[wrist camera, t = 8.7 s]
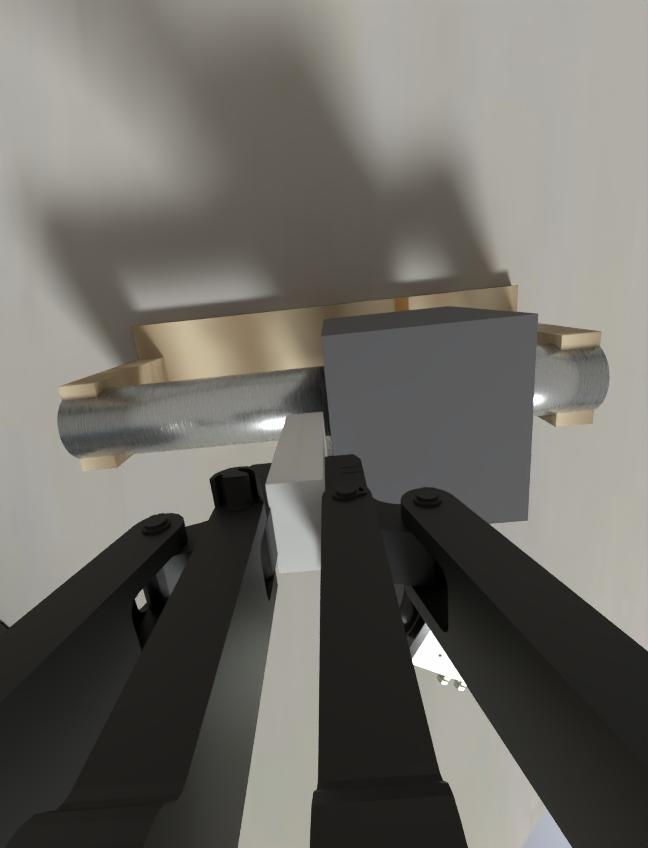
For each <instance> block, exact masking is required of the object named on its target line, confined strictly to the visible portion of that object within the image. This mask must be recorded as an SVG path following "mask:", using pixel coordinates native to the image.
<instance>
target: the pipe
mask: <svg viewBox="0 0 648 848" xmlns="http://www.w3.org/2000/svg"><path fill="white" fill-rule="evenodd" d="M608 386H609V367H608V362H607V359H606V356H605V354H604V352H603V350H602V349H601V347H590V348H580V349H570V350H560V349H559V347H557V346H556V345H555V344H552V343H543V344H537V346H536V366H535V385H534V405H533V416H543V415H553V414H558V413H568V412H579V411H589V410H595V409H597V408H598V407H599V406H600V405H601V404H602V402H603V401H604V399H605V397H606V394H607V391H608ZM314 412H323V418H324V428H325V436H331V429H330V420H329V410H328V400H327V391H326V381H325V371H324V366H316V367H306V368H297V369H287V370H277V371H267V372H257V373H247V374H237V375H227V376H218V377H208V378H198V379H188V380H178V381H168V382H158V383H148V384H139V385H129V386H119V387H109V388H105V389H103V390H102V391H101V392H100V393H99V395H98V397H92V398H82V399H72V400H62V402H61V404H60V407H59V410H58V430H59V434H60V438H61V440H62V443H63V445H64V446H65V448H66V449H67V451H68V452H69V453H70V454H71V455H73V456H74V457H76V458H79V459H82V458H93V457H103V456H120V455H130V454H141V453H152V452H162V451H173V450H183V449H194V448H204V447H215V446H226V445H236V444H247V443H257V442H268V441H278V440H279V438H280V435H281V432H282V429H283V425H284V422H285V419H286V416H287V415H294V414H304V413H314Z"/></svg>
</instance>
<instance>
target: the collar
mask: <svg viewBox="0 0 648 848" xmlns="http://www.w3.org/2000/svg"><path fill="white" fill-rule="evenodd" d="M537 326H538V314H535V313H524V312H512V311H501V310H489V309H478V308H466V307H455V306H445V307H435V308H426V309H416V310H407V311H397V312H388V313H379V314H369V315H360V316H350V317H341V318H331V319H324V321H323V327H322V333H321V342H322V352H323V362H324V371H325V381H326V391H327V400H328V410H329V420H330V429H331V439H332V449H333V456H337V455H348V454H354V455H356V456H357V457H359V458H360V459H361V462H362V467H363V471H364V475H365V479H366V484H367V488H369V489H370V491H371V493H372V497H373V498H374V499H377V500H379V501H382V502H385V503H393V504H401V501H400V500H401V497H402V495H403V494H405V493H406V492H407V491H410V490H413V489H417V488H422V487H429V488H430V487H434V488H437V489H441V490H445V491H447V492H449V493H450V494H452V495H453V496H455V497H456V498H457V499H458V500H460V501H461V502H462V503H463V504H465V505H466V506H467V507H468V508H470V509H471V510H472V511H473V512H475V513H476V514H477V515H478V516H480V517H481V518H482V519H483V520H485V521H486V522H487V523H488V524H491V523H503V522H515V521H527V520H528V503H529V484H530V464H531V444H532V425H533V405H534V385H535V366H536V346H537Z"/></svg>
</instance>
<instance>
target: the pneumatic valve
mask: <svg viewBox="0 0 648 848" xmlns="http://www.w3.org/2000/svg"><path fill="white" fill-rule="evenodd" d="M394 587H395V591H396V595H397V600H398V604H399V608H400V612H401V616H402V620H403V624H404V628H405V632H406V637H407V641H408V645H409V649H410V653H411V657H412V661H413V665H415V666H418V667H421V668H424V669H427V670H430V671H433V672H435V673H438V676H437V679H438V681H439V682H440V683H441V684H443V685H447V683H448V681H449V680H450V679H451V678H453V679H455V681H454V685H455V687H456V688H457V689H458V690H460V691H463V690H464V689H465V686H466V684H465V682H464V681H463V679H462V678H461V676H460V675H459V673H458V672H457V670H456V669H455V667H454V666H453V664H452V663H451V661H450V660H449V658H448V656H447V655H446V653H445V652H444V650H443V649H442V647H441V646H440V644H439V643H438V641H437V640H436V638H435V637H434V635H433V634H432V632H431V630H430V629H429V627H428V626H427V624H426V623H425V621H424V620H423V618H422V617H421V615H420V614H419V612H418V611H417V609H416V607H415V606H414V604H413V603H412V601H411V600H410V598H409V597H408V595H407V592H406V590H405V585H401V584H394Z"/></svg>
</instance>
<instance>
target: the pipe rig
mask: <svg viewBox="0 0 648 848" xmlns="http://www.w3.org/2000/svg"><path fill="white" fill-rule="evenodd" d="M517 292H518V285H515V286H504V287H495V288H486V289H476V290H467V291H458V292H448V293H439V294H429V295H420V296H411V297H401V298H392V299H383V300H373V301H364V302H355V303H345V304H336V305H327V306H317V307H308V308H299V309H289V310H280V311H270V312H261V313H252V314H242V315H233V316H224V317H214V318H205V319H196V320H186V321H177V322H168V323H158V324H149V325H140V326H132V327H131V330H132V334H133V338H134V342H135V346H136V351H137V355H138V359H139V360H136V361H133V362H130V363H127V364H124V365H121V366H118V367H115V368H112V369H109V370H106V371H103V372H100V373H97V374H95V375H92V376H89V377H86V378H83V379H80V380H77V381H74V382H71V383H68V384H65V385H62V386H59V387H58V389H59V392H60V396H61V399H62V400H72V399H82V398H92V397H98V395H99V393H100V392H101V391H102V390H103V389H105V388H109V387H119V386H129V385H139V384H148V383H158V382H168V381H178V380H188V379H198V378H208V377H218V376H227V375H237V374H247V373H257V372H267V371H277V370H287V369H297V368H306V367H316V366H324V362H323V352H322V342H321V333H322V327H323V321H324V319H331V318H341V317H350V316H360V315H369V314H379V313H388V312H397V311H407V310H416V309H426V308H435V307H445V306H455V307H466V308H478V309H489V310H501V311H512V312H517ZM600 340H601V331H593V330H586V329H578V328H570V327H563V326H555V325H548V324H540V323H538V326H537V344H543V343H552V344H555V345H556V346H557V347H559V349H560V350H570V349H580V348H590V347H600ZM593 413H594V410H589V411H579V412H568V413H558V414H553V415H543V416H538V417H540V418H541V419H543V420H545V421H547V422H548V423H550V424H552V425H553V426H555V427H559V426H570V425H581V424H591V423H593ZM132 455H133V454H130V455H120V456H103V457H93V458H82V459H80V462H81V465H82V468H83V471H88V470H99V469H109V468H117V467H118V466H120V465H121V464H122V463H123V462H125V461H126V460H127V459H128V458H129V457H131V456H132Z"/></svg>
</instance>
